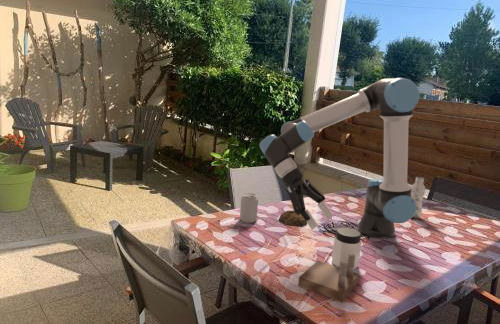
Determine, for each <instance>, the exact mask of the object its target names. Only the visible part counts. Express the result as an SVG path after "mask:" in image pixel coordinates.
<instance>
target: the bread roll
mask: <svg viewBox="0 0 500 324" xmlns="http://www.w3.org/2000/svg"><path fill="white" fill-rule="evenodd" d="M278 222H279V223H283V224H285V225H287V226H296V227H304V226H306V225H307V224H308V223H307V222H306V220H305V219H304V218H303V216H302V215H301V214H299V215H298V214H297V213H295V211H294V210H286V211H284V212H282V213H281V214H280V215H279V218H278Z"/></svg>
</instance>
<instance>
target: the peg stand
mask: <svg viewBox="0 0 500 324" xmlns="http://www.w3.org/2000/svg"><path fill="white" fill-rule="evenodd" d="M354 263H355V255H354V254H349V256H348V264H347V263H346V262H341V263H340V268H339V267H337V266H335V265H334V264H330V263H326V262H323V261H320V260H317V261H316V262H315V263H313V264H312V265H311V266H310V267H309V268H307V269H306V270H305V271H304V272H303V273H302V274H300V275H299V277H298V287H301V288H303V289H305V290H309V291H311V292H314V293H317V294H319V295H322V296H324V297H327V298H330V299H333V300H335V301H338V302H340V303H344V301H345V300H346V299H347V297H348V296H349V295H350V294H351V293H352V292H353V290H354V289H355V288H356V286H357V285H358V284H359V279H360V273H357V272H354V270H355V269H354Z"/></svg>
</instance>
